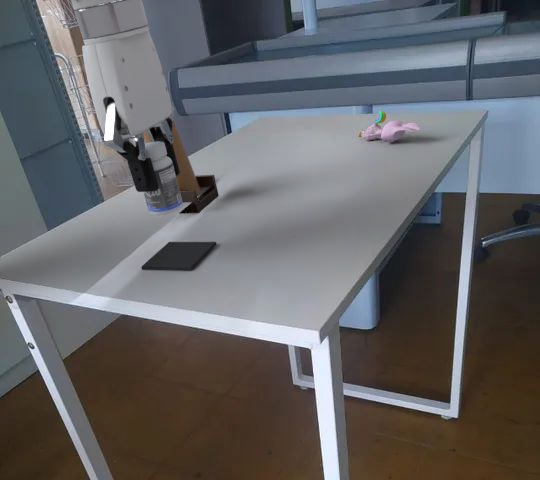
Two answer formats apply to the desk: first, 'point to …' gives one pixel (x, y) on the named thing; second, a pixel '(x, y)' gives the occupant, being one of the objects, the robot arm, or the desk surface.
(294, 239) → the desk surface
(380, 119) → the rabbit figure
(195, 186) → the paper roll
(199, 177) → the roll stand
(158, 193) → the pill bottle
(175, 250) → the coaster
